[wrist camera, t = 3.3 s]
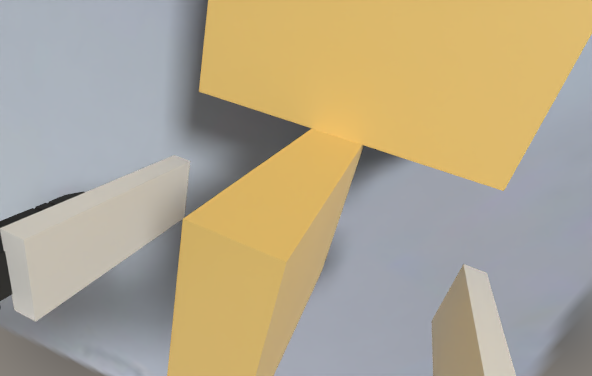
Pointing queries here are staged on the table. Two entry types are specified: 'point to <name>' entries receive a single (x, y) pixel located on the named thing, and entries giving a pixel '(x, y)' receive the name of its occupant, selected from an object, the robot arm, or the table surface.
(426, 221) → the table surface
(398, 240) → the table surface
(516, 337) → the table surface
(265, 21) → the lid
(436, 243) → the table surface
